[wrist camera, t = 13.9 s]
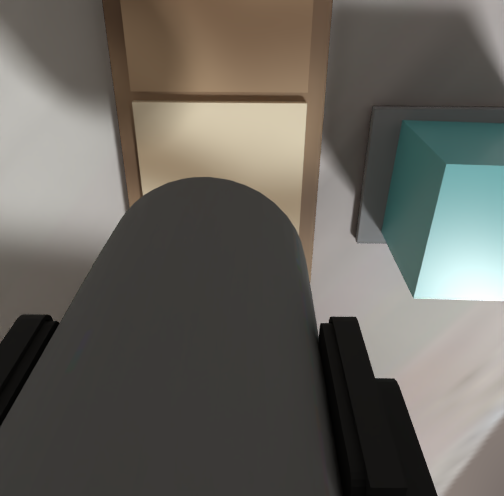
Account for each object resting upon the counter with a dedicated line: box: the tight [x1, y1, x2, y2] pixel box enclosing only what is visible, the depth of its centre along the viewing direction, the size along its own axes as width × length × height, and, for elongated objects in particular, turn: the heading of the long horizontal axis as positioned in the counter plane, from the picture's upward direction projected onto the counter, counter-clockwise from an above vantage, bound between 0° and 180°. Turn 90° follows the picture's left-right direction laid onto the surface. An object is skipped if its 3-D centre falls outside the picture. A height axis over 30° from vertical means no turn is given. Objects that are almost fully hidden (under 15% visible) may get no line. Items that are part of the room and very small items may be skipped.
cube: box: [381, 120, 504, 301], centre depth 18 cm, size 5×5×5 cm
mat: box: [356, 106, 504, 244], centre depth 20 cm, size 6×6×1 cm
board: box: [102, 0, 333, 281], centre depth 20 cm, size 22×8×1 cm, turn 0°
